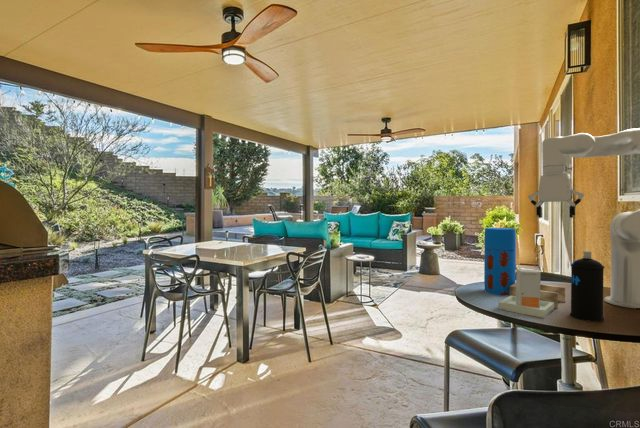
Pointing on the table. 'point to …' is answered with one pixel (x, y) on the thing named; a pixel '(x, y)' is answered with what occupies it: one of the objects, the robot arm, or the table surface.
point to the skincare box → (528, 288)
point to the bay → (546, 293)
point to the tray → (510, 305)
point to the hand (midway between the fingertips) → (555, 217)
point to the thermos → (499, 260)
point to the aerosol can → (587, 289)
